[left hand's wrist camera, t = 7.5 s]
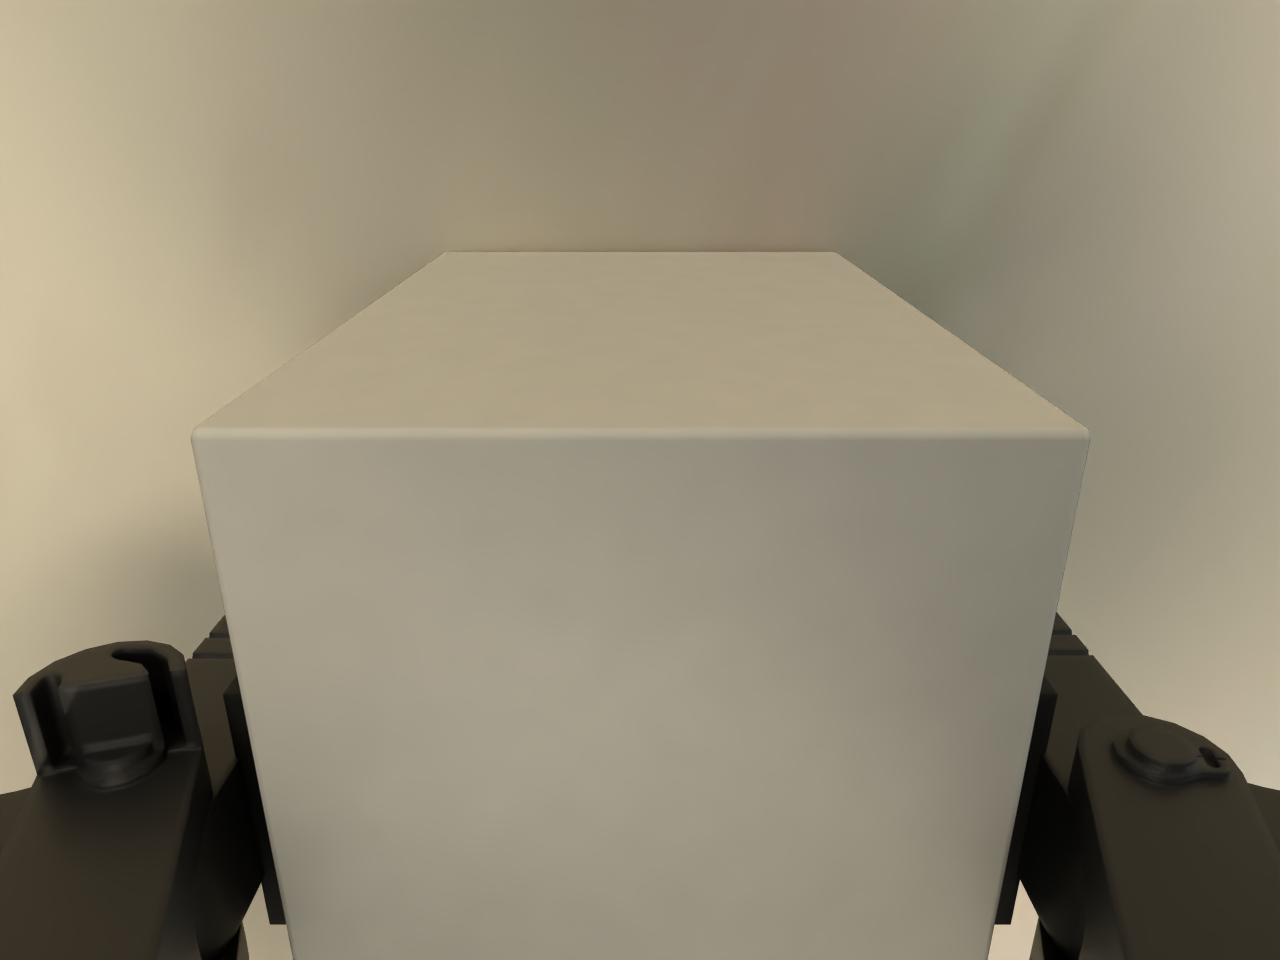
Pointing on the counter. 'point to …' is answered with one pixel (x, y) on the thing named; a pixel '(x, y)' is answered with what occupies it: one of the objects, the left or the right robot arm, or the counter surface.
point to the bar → (640, 612)
